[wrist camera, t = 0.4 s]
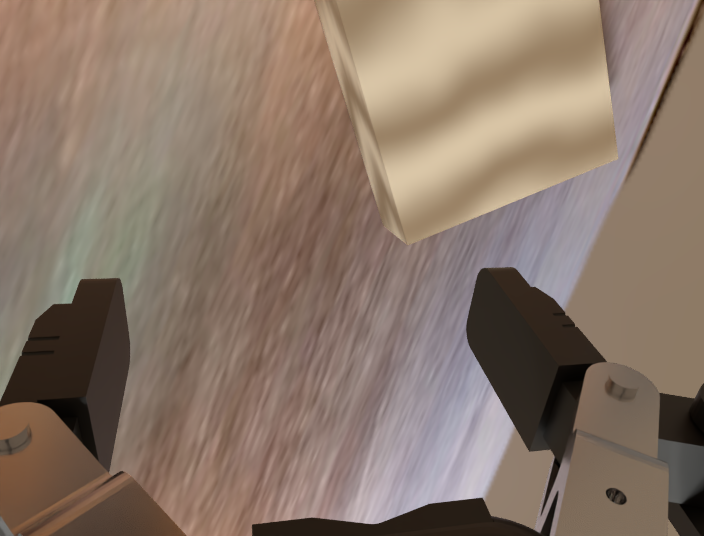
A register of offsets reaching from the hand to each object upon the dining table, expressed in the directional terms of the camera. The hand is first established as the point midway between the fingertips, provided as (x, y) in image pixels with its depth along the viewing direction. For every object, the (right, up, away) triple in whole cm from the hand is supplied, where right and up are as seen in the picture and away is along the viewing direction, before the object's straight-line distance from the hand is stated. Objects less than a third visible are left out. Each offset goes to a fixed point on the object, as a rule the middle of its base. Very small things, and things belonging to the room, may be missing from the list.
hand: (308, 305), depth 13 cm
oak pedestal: (+8, +14, +27) cm, 32 cm away
